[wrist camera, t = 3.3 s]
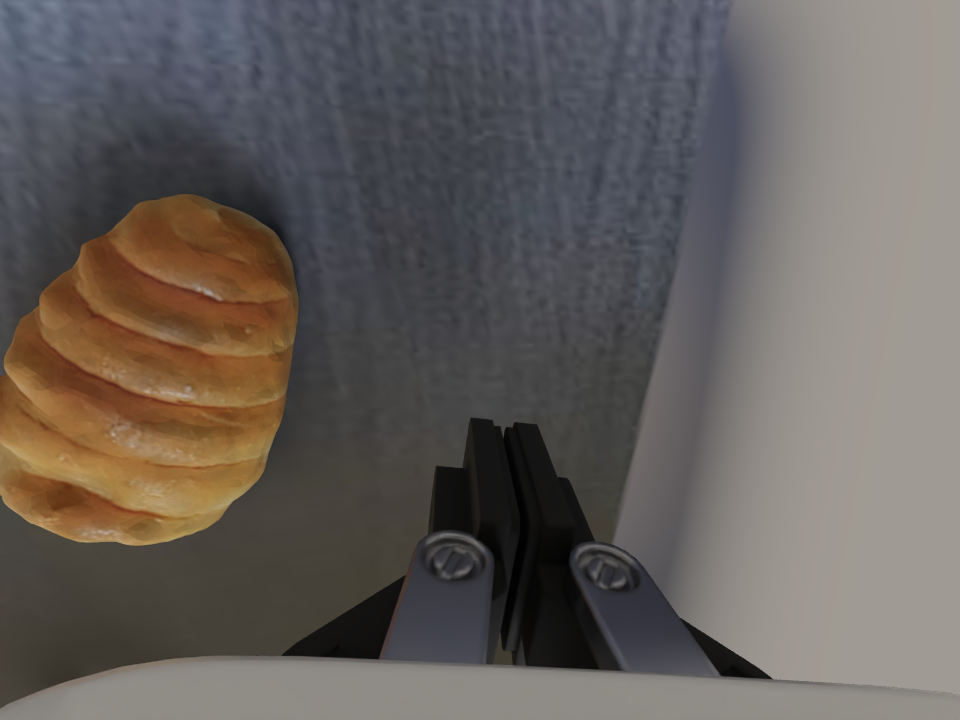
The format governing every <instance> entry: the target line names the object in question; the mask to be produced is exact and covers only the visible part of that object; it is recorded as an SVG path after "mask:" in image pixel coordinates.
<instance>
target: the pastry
mask: <svg viewBox="0 0 960 720" xmlns="http://www.w3.org/2000/svg"><path fill="white" fill-rule="evenodd" d="M298 308H299V297H298V292H297V287H296V283H295V277H294V271H293V265H292V261H291V258H290V256H289V254H288V252H287V250H286V248H285V246H284V245H283V243H282V242H281V240H280V238H279V237H278V235H277V234H276V233H275V232H274V231H273V230H271V229H270V228H269V227H267V226H266V225H264V224H262V223H261V222H259V221H258V220H256V219H255V218H253V217H252V216H250V215H248V214H246V213H244V212H242V211H239V210H236V209H234V208H230V207H227V206H224V205H221V204H218V203H215V202H213V201H211V200H209V199H206V198H204V197H200V196H197V195H193V194H179V195H175V196H172V197H164V198H161V199H158V200H148V201H144V202H140V203H138V204H137V205H136V206H135V207H134V208H133V209H132V210H131V211H130V212H129V213H128V214H127V216H126V217H124V218H123V219H122V220H121V221H120V222H119V223H118V224H116V225H115V227H114V228H113V229H112V230H111V231H109V232H108V233H107V234H106V235H103V236H101V237H98V238H95V239H93V240H91V241H88V242H86V243H84V244H83V245H82V246H81V251H80V256H79V258H78V260H77V262H76V263H75V265H74V266H73V267H72V269H70V270H68V271H66V272H65V273H63V274H61V275H60V276H58V277H57V278H56V279H55V280H54V281H53V282H52V283H51V284H50V285H49V286H48V287H47V288H46V289H45V290H44V291H43V292H42V293H41V296H40V298H39V306H38V307H36V308H35V309H34V310H33V311H32V312H31V313H29V314H27V315H26V316H24V317H23V318H21V320H20V322H19V324H18V326H17V328H16V331H15V334H14V338H13V342H12V344H11V346H10V347H9V349H8V350H7V353H6V355H5V357H4V368H5V370H6V372H7V374H5V375H3V376H1V377H0V495H1V496H2V498H3V501H4V503H5V504H6V505H7V506H8V507H9V508H10V509H12V510H13V511H15V512H16V513H18V514H19V515H20V516H22V517H23V518H24V519H25V520H27V521H28V522H30V523H33V524H35V525H38V526H40V527H42V528H44V529H46V530H49V531H51V532H53V533H56V534H58V535H60V536H63V537H65V538H69V539H72V540H75V541H78V542H106V541H116V542H120V543H123V544H127V545H148V544H154V543H159V542H167V541H170V540H173V539H176V538H179V537H182V536H185V535H190V534H192V533H195V532H197V531H200V530H203V529H205V528H207V527H209V526H210V525H212V524H213V523H215V522H216V521H218V520H219V519H220V518H221V516H222V515H223V514H224V512H225V511H226V509H227V508H228V506H229V505H230V504H231V503H232V502H233V501H234V500H235V499H237V498H238V497H240V496H241V495H243V494H244V493H245V492H246V491H247V490H248V489H249V488H250V487H251V486H252V485H253V484H254V483H255V482H257V481H258V480H259V478H260V476H261V475H262V473H263V471H264V469H265V465H266V461H267V457H268V453H269V450H270V447H271V445H272V443H273V440H274V436H275V433H276V431H277V430H278V428H279V425H280V422H281V419H282V417H283V412H284V408H285V403H286V394H287V387H288V381H289V374H290V368H291V361H292V354H293V344H294V340H295V334H296V327H297V320H298Z"/></svg>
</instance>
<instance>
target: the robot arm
mask: <svg viewBox="0 0 960 720" xmlns="http://www.w3.org/2000/svg"><path fill="white" fill-rule="evenodd" d="M500 633H501V641H502V648H503V650H504V651H511V652H512V660H513V666H512V665H493V660H494V655H495V650H496V648H497V644H498V639H499V634H500ZM0 720H960V695H958V694H952V693H947V692H938V691H928V690H917V689H907V688H895V687H886V686H875V685H856V684H841V683H824V682H809V681H791V680H774V679H772V678H771V677H770V676H768V675H767V674H766V673H764V672H763V671H762V670H760V669H759V668H757V667H756V666H755V665H753V664H751V663H750V662H748V661H747V660H745V659H744V658H742V657H741V656H739V655H737V654H735V653H734V652H733V651H731V650H730V649H728V648H726V647H725V646H723V645H722V644H720V643H719V642H717V641H715V640H714V639H712V638H711V637H709V636H708V635H706V634H705V633H703V632H701V631H700V630H698V629H697V628H695V627H693V626H692V625H690V624H689V623H687V622H686V621H684V620H683V619H681V618H679V616H678V615H677V614H676V612H675V611H674V609H673V608H672V607H671V605H670V604H669V602H668V601H667V599H666V598H665V597H664V595H663V594H662V592H661V591H660V590H659V588H658V587H657V585H656V584H655V582H654V581H653V580H652V578H651V577H650V575H649V574H648V573H647V571H646V570H645V568H644V567H643V566H642V565H641V564H640V563H639V561H638V560H637V559H636V558H635V557H633V556H632V555H630V554H629V553H628V552H626V551H625V550H623V549H621V548H619V547H616V546H614V545H611V544H607V543H604V542H595V540H594V538H593V535H592V533H591V531H590V528H589V526H588V523H587V521H586V519H585V516H584V514H583V512H582V509H581V507H580V505H579V502H578V500H577V497H576V495H575V493H574V490H573V488H572V486H571V483H570V481H569V480H568V479H567V478H562V477H557V475H556V472H555V470H554V467H553V465H552V462H551V459H550V457H549V454H548V451H547V449H546V446H545V444H544V441H543V438H542V436H541V433H540V431H539V428H538V426H537V424H527V423H518V422H515V423H514V425H513V428H511V427H506V429H505V433H504V438H503V436H502V431H501V427H500V426H494V424H493V420H489V419H479V418H470V422H469V428H468V435H467V442H466V448H465V455H464V462H463V468H453V467H443V466H436V469H435V475H434V483H433V491H432V499H431V508H430V517H429V529H428V535H427V536H425V537H424V538H423V539H422V540H420V541H419V542H418V544H417V546H416V548H415V549H414V552H413V555H412V558H411V561H410V564H409V567H408V570H407V574H406V575H405V576H403V577H402V578H400V579H398V580H397V581H395V582H394V583H392V584H390V585H389V586H387V587H385V588H384V589H382V590H381V591H379V592H377V593H376V594H374V595H373V596H371V597H369V598H368V599H366V600H365V601H363V602H361V603H360V604H358V605H357V606H355V607H353V608H352V609H350V610H349V611H347V612H345V613H344V614H342V615H341V616H339V617H337V618H336V619H334V620H333V621H331V622H329V623H328V624H326V625H325V626H323V627H321V628H320V629H318V630H316V631H315V632H313V633H312V634H310V635H308V636H307V637H305V638H304V639H302V640H300V641H299V642H297V643H296V644H295V645H293V646H292V647H291V648H290V649H288V650H287V651H286V652H285V653H283V655H282V656H259V655H257V656H204V657H190V658H176V659H167V660H161V661H155V662H148V663H142V664H136V665H130V666H123V667H119V668H115V669H112V670H108V671H104V672H100V673H97V674H93V675H89V676H85V677H81V678H78V679H74V680H70V681H67V682H64V683H61V684H58V685H55V686H53V687H50V688H47V689H44V690H41V691H38V692H36V693H34V694H31V695H29V696H26V697H24V698H22V699H19V700H17V701H14V702H12V703H9V704H7V705H6V706H4V707H2V708H0Z"/></svg>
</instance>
